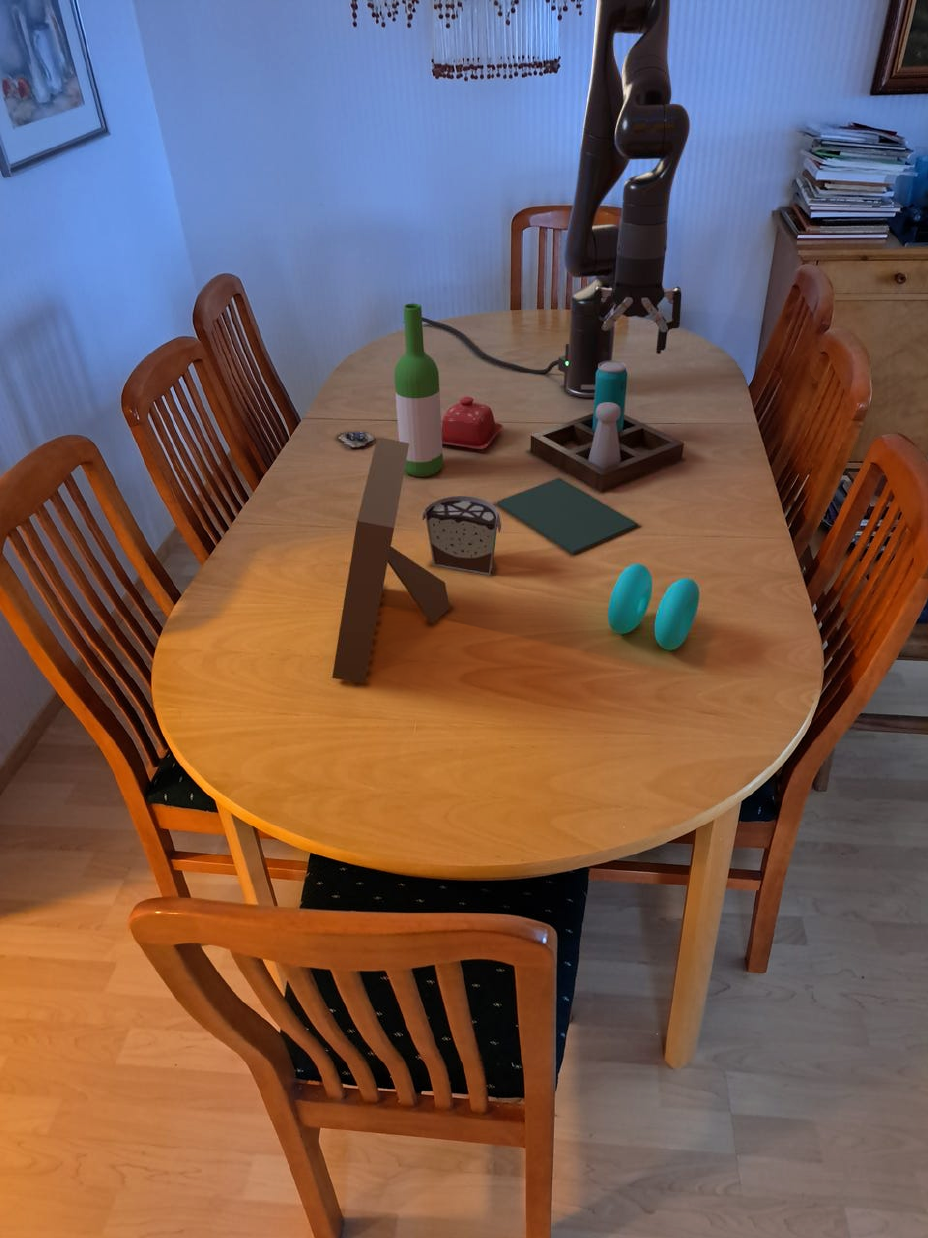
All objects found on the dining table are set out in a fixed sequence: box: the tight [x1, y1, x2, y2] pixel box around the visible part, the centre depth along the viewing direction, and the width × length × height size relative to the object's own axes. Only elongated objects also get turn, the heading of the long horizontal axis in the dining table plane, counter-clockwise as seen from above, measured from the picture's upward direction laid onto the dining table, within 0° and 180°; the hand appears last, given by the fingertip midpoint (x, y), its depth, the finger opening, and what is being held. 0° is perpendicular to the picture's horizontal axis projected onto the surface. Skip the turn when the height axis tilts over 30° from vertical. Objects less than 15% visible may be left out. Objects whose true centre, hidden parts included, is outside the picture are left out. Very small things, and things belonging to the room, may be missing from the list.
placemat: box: [496, 477, 639, 555], centre depth 152 cm, size 20×14×1 cm
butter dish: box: [441, 396, 503, 450], centre depth 173 cm, size 12×12×8 cm
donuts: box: [607, 563, 700, 651], centre depth 122 cm, size 10×10×10 cm
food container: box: [421, 495, 502, 576], centre depth 139 cm, size 12×6×10 cm, turn 71°
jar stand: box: [530, 412, 685, 493], centre depth 168 cm, size 20×20×4 cm
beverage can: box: [592, 360, 628, 432], centre depth 169 cm, size 6×6×15 cm
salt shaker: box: [588, 402, 621, 469], centre depth 160 cm, size 6×6×13 cm
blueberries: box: [338, 430, 376, 448], centre depth 176 cm, size 7×8×2 cm
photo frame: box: [331, 436, 451, 684], centre depth 120 cm, size 15×22×25 cm
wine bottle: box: [393, 302, 444, 478], centre depth 157 cm, size 8×8×30 cm
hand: (632, 351), depth 150 cm, fingers open, 8 cm apart
